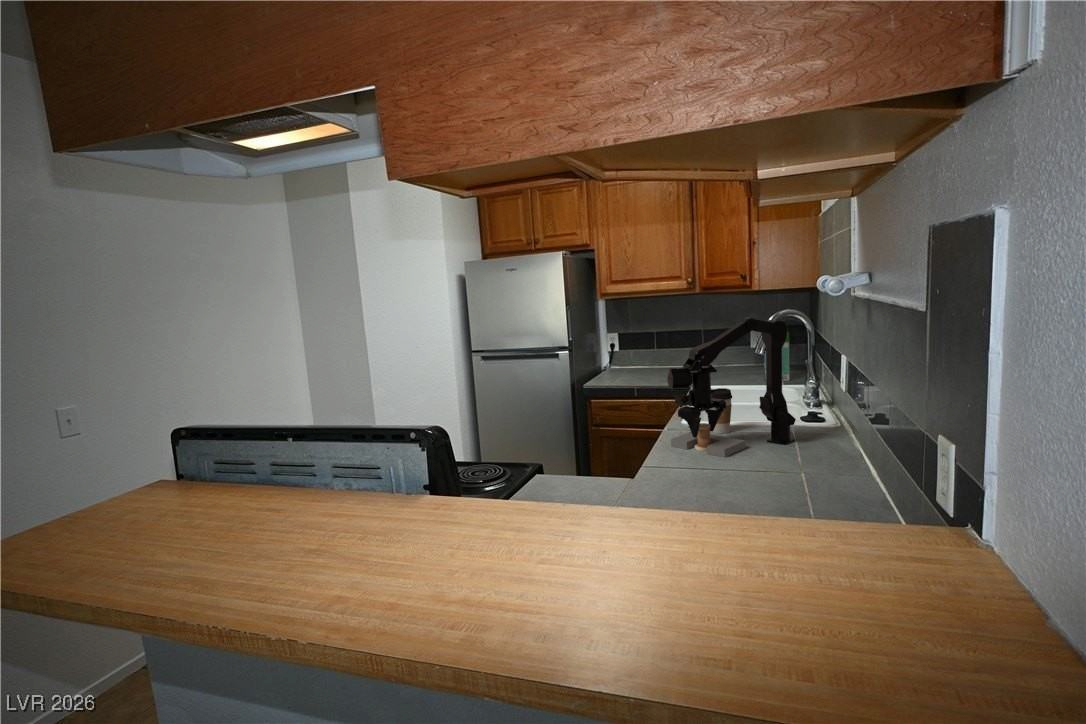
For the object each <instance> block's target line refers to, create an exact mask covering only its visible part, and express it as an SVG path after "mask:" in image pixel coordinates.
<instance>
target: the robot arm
mask: <svg viewBox="0 0 1086 724" xmlns="http://www.w3.org/2000/svg"><path fill="white" fill-rule="evenodd" d="M788 328H789V327H788V325H787V324H786V323H785V322H784V321H782V320H776V319H775V320H773V319H767V320H761V319H755V318H754V317H744V318H742V319H741V320H740V321H739V322H738V323H736V324H734V325H733V326H732V327H730V328H729V329H726V331H724V332H722V333H721V334H720V335H718V336H717V337H715V338H713V339H712V340H710V341H707V342H705V343H704V342H703V343H702V344H699V345H697V346H694V347H693V348H691V349H690V350H689V353H688V358H687V359H686V361H685V362H684V364H683V365H682V367H669V369H668V370H669V371H668V374H667V377H666V378H667V386H668V388H669V390H678V389H689V388H690V387H692V388H691V389H690V390H689V391H688V394H687V395H683V394H682V393H681V394H677V395H675V396H674V403H675V405H677V406H678V407H679V408H678V410H677V417H678V418H680V419H682V420H684V421H685V422H686V423H687V425H688V428H689V430H690V432H691V433H692V435H693V437H694V438H696V437H697V435H698V431H699V426H700V423H701V421H702V417H700V416H701V414H702V412H705V413H706V414H707V422H708V423H707V424H710V432H713V430H714V428H715V426H716V424H717V422H718V420H719V418H720V416H721V414H722V412H723V411H724V409H725V408H726V402H725V401H724V399H715V398H711V393H714V388H712V380H711V378H712V377H711V374H712V373H717V372H718V370H717V369H716V368H715V367H714V366H713V365H712V364H711V363H713V362H714V361H715V360H717V357H718V356H719V355H720V353H722V351H724V350H725V349H727V348H728V347H730V346H731V345H733V344H734V343H735V342H737V341H739V340H740V339H742V338H744V336H746V335H748V334H749V333H750V332H755V333H756V332H757V333H760V334H761V340H762V342H763V346H764V345H765V347H766V380H765V381H766V382H765V383H766V385H765V386H766V391H765V393H764V395H763V396H759V403H760V404H759V407H758V408H759V409H760V410H761V414H763V415H764V416H765V418H766V420H767V421H769V422H770V438H768V439H766V442H769V443H774V444H779V445H780V444H781V445H788V444H790V443H792V442H795V441H796V438H792V437H791V426H794V425H795V424H796V420H797V419H796V418H795V417H794V416H793V415H792V414H791V413H790V412H789V409H788V403H787V400H786V397H785V396H784V393H783V381H782V347H783V345H784V343H785V341H786V337H787V332H789V331H788V330H789V329H788Z"/></svg>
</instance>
